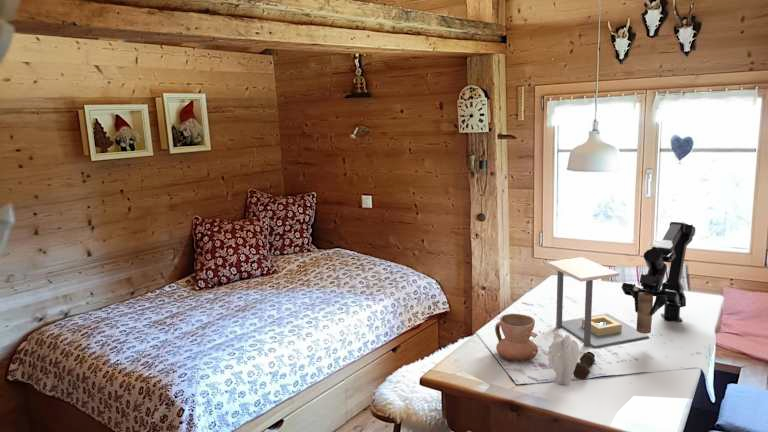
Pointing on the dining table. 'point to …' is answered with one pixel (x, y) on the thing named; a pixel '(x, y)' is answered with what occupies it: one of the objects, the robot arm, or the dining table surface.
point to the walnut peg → (644, 312)
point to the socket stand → (591, 331)
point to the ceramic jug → (516, 337)
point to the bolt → (584, 365)
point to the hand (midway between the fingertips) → (643, 313)
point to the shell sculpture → (563, 357)
